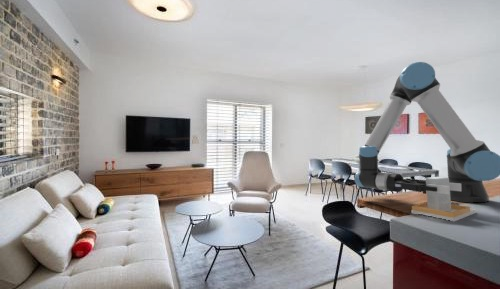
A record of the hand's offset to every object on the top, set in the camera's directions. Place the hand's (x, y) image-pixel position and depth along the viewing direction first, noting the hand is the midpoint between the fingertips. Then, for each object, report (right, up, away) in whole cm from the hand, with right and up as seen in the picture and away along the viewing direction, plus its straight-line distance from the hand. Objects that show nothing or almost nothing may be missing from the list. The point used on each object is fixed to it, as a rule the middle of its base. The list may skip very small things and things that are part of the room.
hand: (455, 188), depth 85 cm
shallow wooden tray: (0, -10, +5) cm, 11 cm away
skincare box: (-3, -9, +4) cm, 10 cm away
